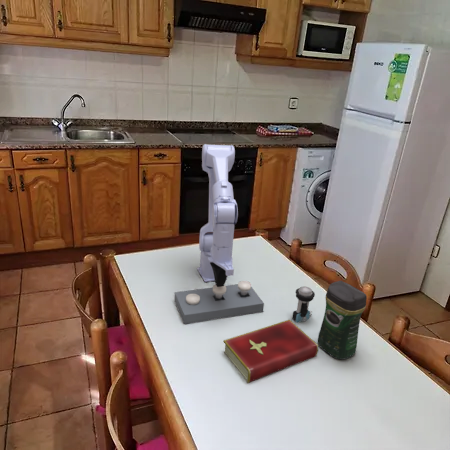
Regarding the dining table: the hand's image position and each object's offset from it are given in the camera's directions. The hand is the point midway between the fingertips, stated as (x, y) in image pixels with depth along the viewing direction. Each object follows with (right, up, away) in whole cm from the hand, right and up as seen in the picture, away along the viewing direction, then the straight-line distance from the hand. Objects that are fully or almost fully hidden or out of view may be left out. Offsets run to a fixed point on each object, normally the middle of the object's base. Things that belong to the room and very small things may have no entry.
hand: (219, 285), depth 119 cm
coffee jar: (+31, -15, -12) cm, 36 cm away
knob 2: (+7, -3, +4) cm, 9 cm away
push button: (+24, -10, 0) cm, 26 cm away
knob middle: (0, -4, +2) cm, 4 cm away
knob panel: (0, -7, +3) cm, 7 cm away
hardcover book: (+13, -16, -15) cm, 25 cm away
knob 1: (-8, -6, 0) cm, 10 cm away
